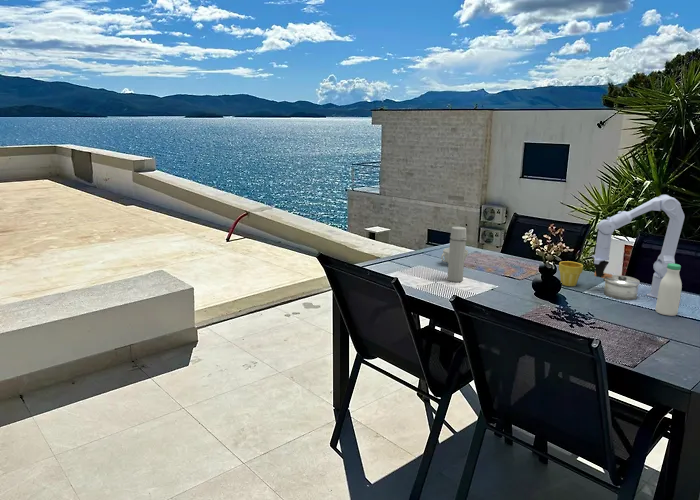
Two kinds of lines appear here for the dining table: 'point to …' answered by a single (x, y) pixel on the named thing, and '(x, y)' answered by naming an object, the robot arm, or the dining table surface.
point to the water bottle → (456, 254)
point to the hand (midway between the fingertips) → (599, 276)
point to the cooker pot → (620, 291)
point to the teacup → (446, 255)
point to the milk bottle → (669, 291)
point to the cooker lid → (620, 280)
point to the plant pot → (570, 272)
